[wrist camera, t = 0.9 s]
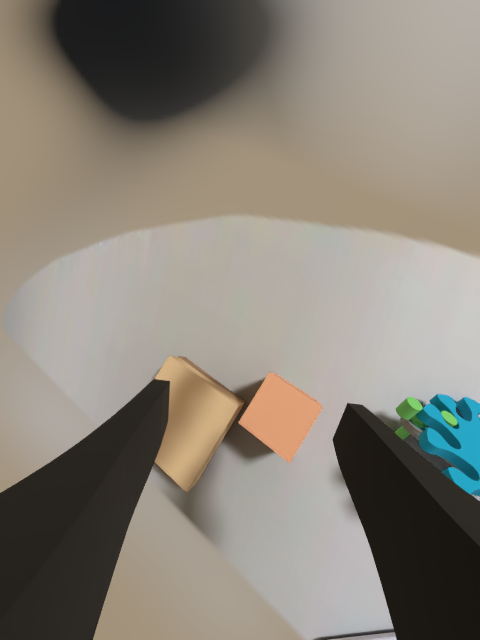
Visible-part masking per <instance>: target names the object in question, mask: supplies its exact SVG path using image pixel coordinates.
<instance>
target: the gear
mask: <svg viewBox="0 0 480 640" xmlns="http://www.w3.org/2000/svg"><path fill="white" fill-rule="evenodd" d="M430 403H431V404H428V405H426V406H425V407H422V405H421V403H420V402H419V401H418V400H416V399H415V398H412V397H408V398H407V399H406V400H405V401H404V402H402V403H401V404H400V405H399V406H398V407H397V408H396V411H397V413H398V415H399V416H400V417H401V424H402V426H401V427H400V428H399V429H397V430H396V431H395V432H394V433H395V434H397V435H398V436H399V437H400V438H401V439H402V440H404V439H405V438H406V437H408V436H409V435H412V436H414V437H415V438H416V439H417V440H419V446H420V448H421V449H423V450H424V451H425V452H427V453H429V454H434V455H437V456H439V457H440V458H441V459H443V460H444V461H445V462H447V463H448V464H449V465H450V466H452V467H449V468H447V469H445V470H443V471H441V472H442V473H443V474H444V475H445V476H447V477H448V478H449V479H450V480H452V481H453V482H454V483H456V484H457V485H458V486H460V487H461V488H462V489H463V490H465V491H466V492H467V493H469V494H474V495H477V496H480V418H479V417H478V415H479V414H480V404H479V403H477V402H476V401H474V400H472V399H470V398H467V397H464V398H463V399H461V400H460V401H459V402H457V403H455V401H454V400H453V399H452V398H451V397H449V396H447V395H441V394H437V395H436V396H435V397H433V398H432V399H431V400H430ZM456 406H457V408H458V409H459V411H460V412H461V414H462V416H463V418H461V417H460V416H459V415H458V414H457V412H456Z"/></svg>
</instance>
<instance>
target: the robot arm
mask: <svg viewBox="0 0 480 640" xmlns="http://www.w3.org/2000/svg"><path fill="white" fill-rule="evenodd" d="M169 394H170V381H166V380H158V379H154V380H153V381H151V382H150V383H149V384H148V385H147V386H146V387H145V388H144V389H143V390H142V391H141V392H139V393H138V394H137V395H136V396H135V397H134V398H133V399H132V400H131V401H130V402H128V403H127V404H126V405H125V406H124V407H123V408H121V409H120V410H119V411H118V412H117V413H116V414H115V415H113V416H112V417H111V418H110V419H109V420H107V421H106V422H105V423H103V424H102V425H101V426H100V427H98V428H97V429H96V430H95V431H93V432H92V433H91V434H89V435H88V436H87V437H86V438H84V439H83V440H81V441H80V442H79V443H77V444H76V445H75V446H73V447H72V448H70V449H69V450H68V451H66V452H65V453H63V454H62V455H60V456H59V457H57V458H56V459H54V460H53V461H51V462H50V463H48V464H47V465H45V466H44V467H42V468H40V469H39V470H37V471H36V472H34V473H32V474H31V475H29V476H28V477H26V478H24V479H23V480H21V481H20V482H18V483H17V484H15V485H13V486H11V487H10V488H8V489H6V490H5V491H3V492H1V493H0V640H93V637H94V634H95V630H96V627H97V624H98V620H99V617H100V614H101V610H102V607H103V604H104V601H105V598H106V594H107V591H108V588H109V585H110V582H111V578H112V575H113V572H114V569H115V566H116V563H117V560H118V557H119V554H120V550H121V547H122V544H123V541H124V538H125V535H126V532H127V529H128V526H129V523H130V521H131V518H132V515H133V513H134V510H135V507H136V505H137V503H138V500H139V498H140V495H141V493H142V491H143V488H144V486H145V483H146V481H147V479H148V476H149V474H150V471H151V469H152V466H153V464H154V462H155V459H156V457H157V454H158V452H159V449H160V447H161V444H162V440H163V437H164V434H165V430H166V427H167V423H168V416H169ZM333 443H334V447H335V452H336V456H337V459H338V463H339V466H340V469H341V472H342V474H343V477H344V480H345V482H346V485H347V488H348V490H349V493H350V495H351V498H352V500H353V503H354V505H355V508H356V510H357V513H358V516H359V518H360V521H361V523H362V526H363V528H364V531H365V534H366V536H367V539H368V542H369V545H370V548H371V551H372V554H373V557H374V561H375V564H376V567H377V571H378V574H379V577H380V581H381V584H382V587H383V591H384V595H385V598H386V602H387V605H388V609H389V613H390V616H391V620H392V623H393V627H394V631H395V632H391V633H382V634H373V635H364V636H356V637H347V638H338V639H329V640H480V501H478V500H477V499H476V498H474V497H473V496H472V495H470V494H469V493H467V492H466V491H465V490H463V489H462V488H461V487H460V486H458V485H457V484H456V483H454V482H453V481H452V480H450V479H449V478H448V477H447V476H445V475H444V474H443V473H442V472H441V471H439V470H438V469H437V468H436V467H434V466H433V465H432V464H431V463H429V462H428V461H427V460H426V459H425V458H423V457H422V456H421V455H420V454H419V453H417V452H416V451H415V450H414V449H413V448H412V447H410V446H409V445H408V444H407V443H406V442H405V441H403V440H402V439H401V438H400V437H399V436H398V435H397V434H395V433H394V432H393V431H392V430H391V429H390V428H389V427H388V426H386V425H385V424H384V423H383V422H382V421H381V420H380V419H378V418H377V417H376V416H375V415H374V414H373V413H371V412H370V411H369V410H368V409H367V408H365V407H364V406H363V405H358V404H350V403H347V406H346V408H345V411H344V413H343V416H342V418H341V420H340V423H339V425H338V428H337V430H336V433H335V435H334V437H333Z"/></svg>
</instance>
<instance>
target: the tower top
mask: <svg viewBox="0 0 480 640" xmlns="http://www.w3.org/2000/svg"><path fill="white" fill-rule="evenodd" d="M155 379H158V380H166V381H170V394H169V416H168V423H167V427H166V430H165V434H164V437H163V440H162V444H161V447H160V449H159V452H158V454H157V457H156V459H155V463H156V464H157V465H158V466H159V467H160V468H161V469H163V470H164V471H165V472H166V473H167V474H168V475H169V476H170V477H171V478H172V479H173V480H174V481H175V482H176V483H177V484H178V485H179V486H180V487H181V488H182V489H183V490H184V491H185V492H186V493H187V492H188V491H189V490H190V489H191V488H192V487H193V486H194V485H195V484H196V483H197V482H198V480H199V478H200V477H201V475H202V473H203V472H204V470H205V468H206V467H207V465H208V463H209V462H210V460H211V458H212V457H213V455H214V453H215V452H216V450H217V448H218V447H219V445H220V443H221V442H222V440H223V438H224V437H225V435H226V433H227V432H228V430H229V428H230V427H231V425H232V423H233V422H234V420H235V418H236V417H237V415H238V413H239V412H240V410H241V408H242V407H243V405H244V404H243V403H242V402H241V401H239V400H238V399H236V398H235V397H234V396H232V395H231V394H229V393H228V392H227V391H225V390H224V389H223V388H221V387H220V386H218V385H217V384H216V383H214V382H213V381H211V380H210V379H209V378H207V377H206V376H205V375H203V374H202V373H200V372H199V371H198V370H196V369H195V368H193V367H192V366H191V365H189V364H188V363H187V362H185V361H184V360H182V359H181V358H180V357H174V356H169V357H168V358H167V360H166V362H165V363H164V365H163V366H162V368H161V370H160V371H159V373H158V374H157V376H156V377H155Z"/></svg>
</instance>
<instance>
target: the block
mask: <svg viewBox="0 0 480 640" xmlns="http://www.w3.org/2000/svg"><path fill="white" fill-rule="evenodd" d="M322 408H323V407H322V406H321V404H320V403H319V402H318V401H317V400H315V399H314V398H312V397H311V396H309V395H308V394H306V393H305V392H303V391H302V390H300V389H299V388H297V387H296V386H294V385H293V384H291V383H289V382H288V381H286V380H285V379H283V378H282V377H280V376H279V375H277V374H274V373H270V372H269V374H268V375H267V377H266V379H265V380H264V382H263V383H262V385H261V387H260V388H259V390H258V392H257V393H256V395H255V396H254V398H253V400H252V401H251V403H250V404H249V406H248V408H247V409H246V411H245V413H244V414H243V416H242V417H241V419H240V421H239V422H238V423H239V424H240V425H241V426H243V427H244V428H245V429H247V430H248V431H249V432H250V433H252V434H253V435H254V436H255V437H257V438H258V439H259V440H261V441H262V442H263V443H264V444H266V445H267V446H268V447H270V448H271V449H272V450H273V451H275V452H276V453H277V454H278V455H280V456H281V457H282V458H284V459H285V460H286V461H287V462H289V463H290V462H291V461H292V459H293V457H294V455H295V454H296V452H297V450H298V449H299V447H300V445H301V444H302V442H303V440H304V439H305V437H306V435H307V434H308V432H309V430H310V429H311V427H312V425H313V424H314V422H315V420H316V418H317V417H318V415H319V413H320V412H321V410H322Z"/></svg>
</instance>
